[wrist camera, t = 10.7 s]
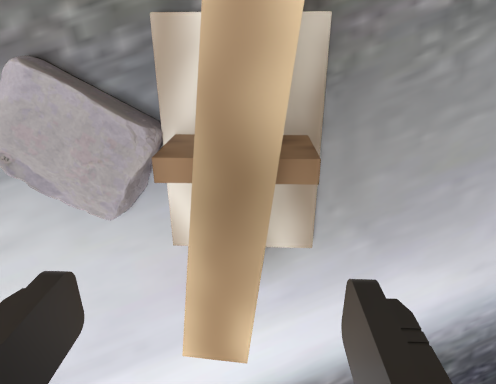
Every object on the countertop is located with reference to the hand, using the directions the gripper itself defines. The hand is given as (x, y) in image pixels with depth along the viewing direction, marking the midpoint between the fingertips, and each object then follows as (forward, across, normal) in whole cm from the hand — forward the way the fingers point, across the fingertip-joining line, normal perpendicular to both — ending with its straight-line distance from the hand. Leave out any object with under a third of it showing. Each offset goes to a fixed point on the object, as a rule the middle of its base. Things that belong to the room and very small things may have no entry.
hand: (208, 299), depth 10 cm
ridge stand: (+19, 0, 0) cm, 19 cm away
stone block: (+19, +13, 0) cm, 23 cm away
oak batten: (+11, 0, 0) cm, 11 cm away
